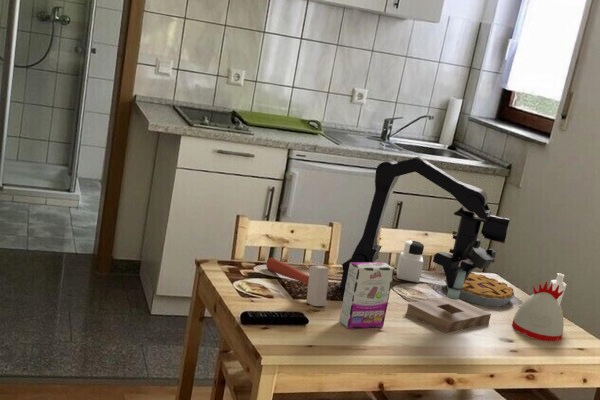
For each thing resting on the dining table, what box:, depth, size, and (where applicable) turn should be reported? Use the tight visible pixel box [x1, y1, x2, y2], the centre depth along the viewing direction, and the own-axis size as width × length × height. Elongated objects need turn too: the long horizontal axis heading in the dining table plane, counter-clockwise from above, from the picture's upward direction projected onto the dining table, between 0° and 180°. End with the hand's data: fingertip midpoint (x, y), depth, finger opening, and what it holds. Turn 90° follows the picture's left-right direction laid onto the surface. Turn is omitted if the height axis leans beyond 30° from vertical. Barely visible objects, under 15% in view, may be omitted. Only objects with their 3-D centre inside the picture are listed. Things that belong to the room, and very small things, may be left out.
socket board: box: [406, 296, 492, 334], centre depth 214 cm, size 20×14×3 cm
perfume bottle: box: [549, 272, 567, 305], centre depth 226 cm, size 5×4×15 cm
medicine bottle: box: [396, 240, 425, 284], centre depth 244 cm, size 7×7×12 cm
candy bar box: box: [338, 261, 395, 330], centre depth 196 cm, size 11×5×16 cm, turn 117°
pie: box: [444, 272, 516, 308], centre depth 240 cm, size 22×22×5 cm
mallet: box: [265, 257, 330, 307], centre depth 216 cm, size 11×4×30 cm
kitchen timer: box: [511, 280, 565, 342], centre depth 215 cm, size 14×14×15 cm
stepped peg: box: [446, 270, 466, 300], centre depth 212 cm, size 4×4×8 cm
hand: (454, 287), depth 212 cm, fingers closed on stepped peg, 4 cm apart
